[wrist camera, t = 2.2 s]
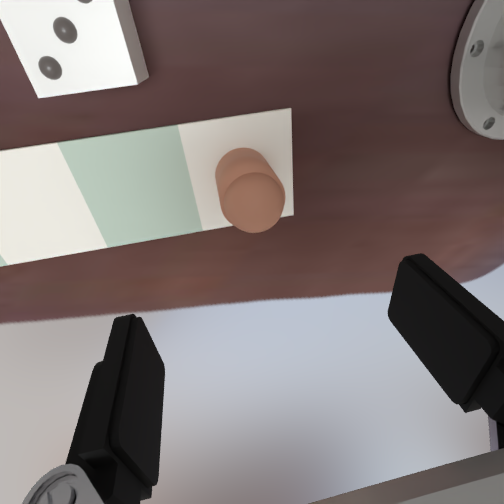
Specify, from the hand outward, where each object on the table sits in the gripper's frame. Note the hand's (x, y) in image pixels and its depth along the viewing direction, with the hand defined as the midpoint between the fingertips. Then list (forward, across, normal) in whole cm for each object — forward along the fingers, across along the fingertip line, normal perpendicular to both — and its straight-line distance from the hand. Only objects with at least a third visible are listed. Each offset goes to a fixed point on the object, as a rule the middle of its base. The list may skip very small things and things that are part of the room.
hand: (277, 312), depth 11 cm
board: (+14, +10, 0) cm, 17 cm away
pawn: (+13, -1, 0) cm, 13 cm away
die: (+14, +6, -9) cm, 18 cm away
